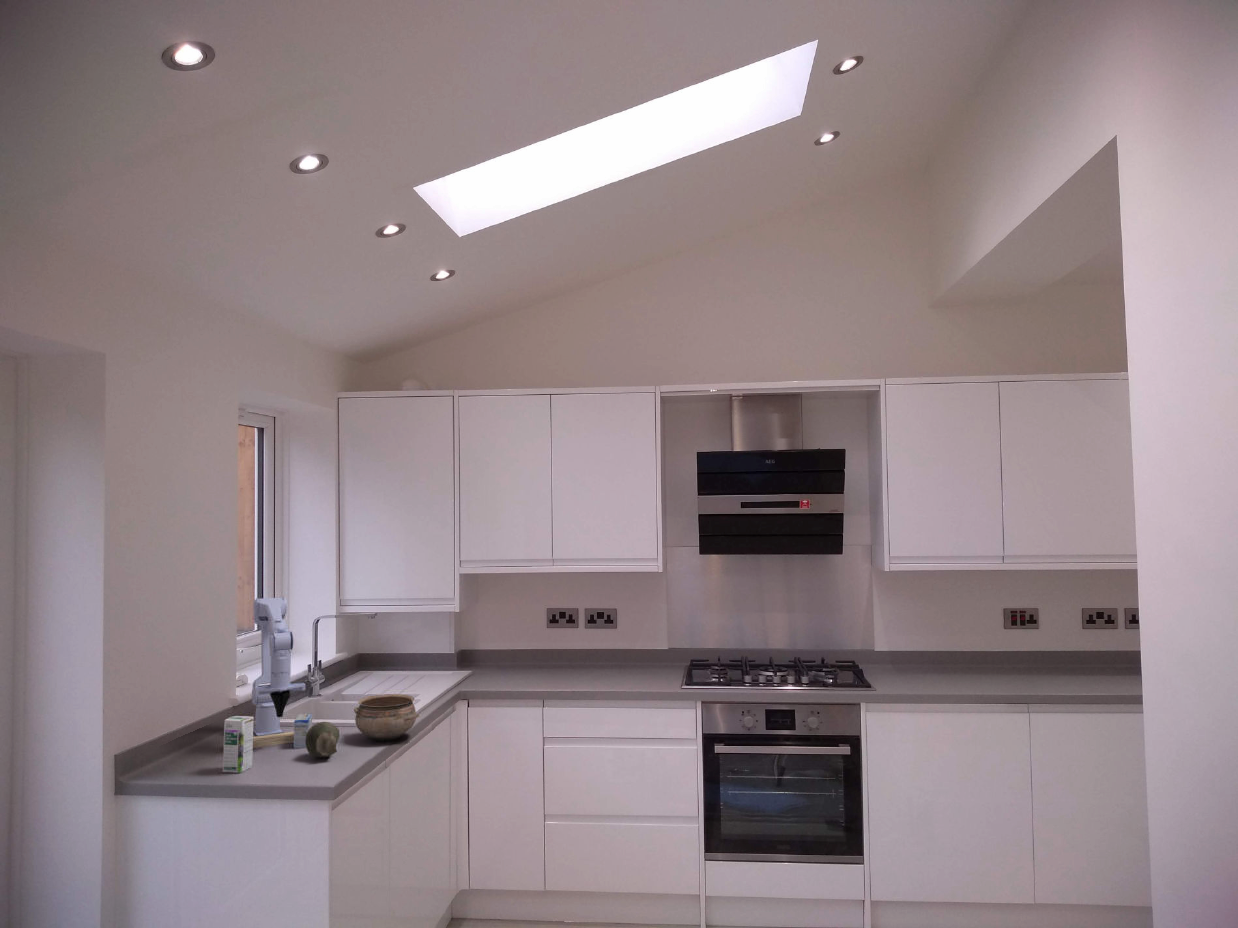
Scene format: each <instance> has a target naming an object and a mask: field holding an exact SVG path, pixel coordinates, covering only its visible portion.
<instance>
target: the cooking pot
mask: <svg viewBox="0 0 1238 928" xmlns="http://www.w3.org/2000/svg"><path fill="white" fill-rule="evenodd" d="M414 701H415V697H414V696H412V695H407V694H401V693H400V694H398V693H393V694H392V693H390V694H389V693H388V694H387V693H386V694H377V695H370V696H367V697H363V698H361V699H359V700H358V701H357V703H358V705H359V706H356V707H354V708H353V711H354V713H355V718H354V720H355V721H354V722H355V726H356V728H357V729H358V731H360V732H361V733H362V734H364V736H367V737H368V738H371V739H373V740H375V741H376V740H377V741H376V742H391V741H395V740H396V739H397V738H399V737H401V736H402V735H404V734H405V733H407V732H409V731H410V730H411V728H413V726H414V725H415V723H416V720H417V718H419V717H420V714H419V713H417V711H416V707H415V705H414Z"/></svg>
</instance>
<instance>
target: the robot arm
mask: <svg viewBox="0 0 1238 928" xmlns="http://www.w3.org/2000/svg"><path fill="white" fill-rule="evenodd" d="M287 611H288V601H287V598H286V597H285V596H282V597H268V598H266V597H265V598H258V597H257V598H256V599H254V601H253V621H254V624H255V625H258V626H259V627H260V628H259V629H260V633H261V634H260V641H261V642H260V643H261V649H260V651H261V675H260V676H259V677H257V678H256V679H255V680H254V681H253V683H252V688H251V703H252V704H253V705H254V706H256V709H255V719H254V720H255V721H254V722H255V726H254V727H253V734H255V735H256V737H258V736H265V735H273V734H280V733H284V730H283V729H281V728H280V726H281V722H280V721H281V718H283V716H284V711H285V708H286V705H287V704H288V701H289V699H290V697H291V692H296V691H301V692H302V691H306V683H304V682H301V683H298V682H297V683H291V674H292V673H291V670H292V669H291V666H292V665H291V663H292V662H291V661H292V659H291V658H292V651H293V649H294V643H295V642H294V634H293V631H291V630H289V627H288V623H287V621H286V620H285V618H286V615H287Z"/></svg>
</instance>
